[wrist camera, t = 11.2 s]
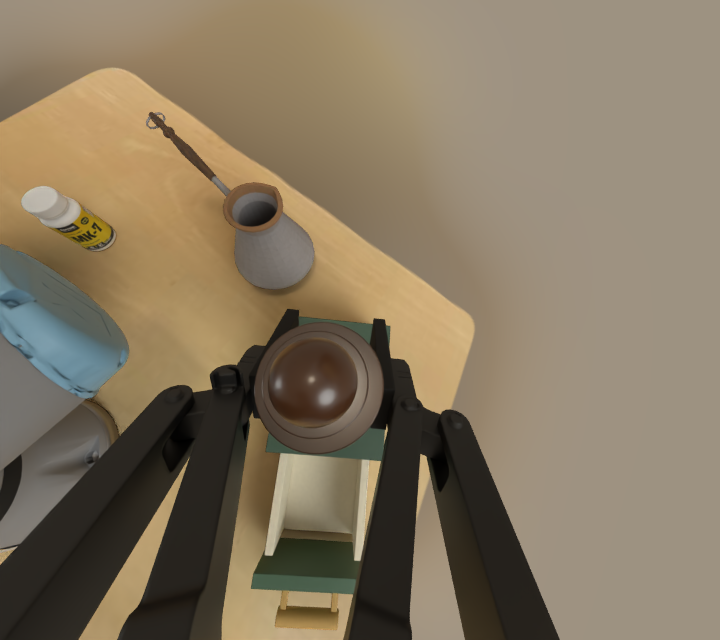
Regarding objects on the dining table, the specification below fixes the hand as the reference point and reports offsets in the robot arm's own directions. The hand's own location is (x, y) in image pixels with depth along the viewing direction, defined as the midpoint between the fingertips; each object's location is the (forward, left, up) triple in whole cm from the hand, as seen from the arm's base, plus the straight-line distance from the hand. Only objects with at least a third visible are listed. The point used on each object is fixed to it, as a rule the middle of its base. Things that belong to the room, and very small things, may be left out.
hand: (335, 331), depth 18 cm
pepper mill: (+2, -3, -7) cm, 8 cm away
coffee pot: (-22, +8, -20) cm, 31 cm away
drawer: (+9, -15, -19) cm, 26 cm away
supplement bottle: (-41, -6, -20) cm, 46 cm away
